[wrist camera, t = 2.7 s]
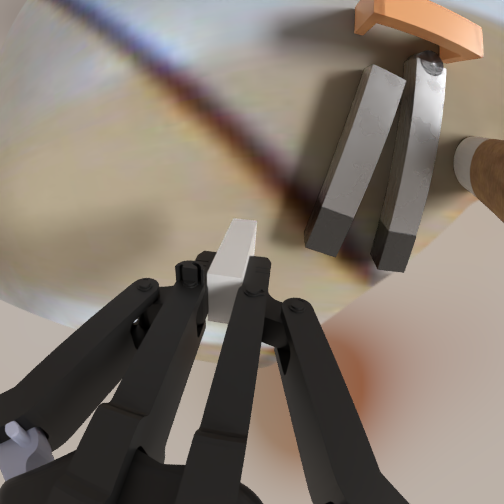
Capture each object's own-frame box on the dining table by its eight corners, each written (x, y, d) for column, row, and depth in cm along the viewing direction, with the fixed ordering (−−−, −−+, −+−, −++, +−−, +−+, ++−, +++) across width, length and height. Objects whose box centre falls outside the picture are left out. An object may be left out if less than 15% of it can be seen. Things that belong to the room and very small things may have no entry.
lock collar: (355, 7, 16) (373, -19, 10) (446, 38, 15) (481, 27, 10) (354, 33, 18) (374, 12, 12) (446, 63, 17) (483, 57, 11)
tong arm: (364, 68, 19) (373, 63, 16) (393, 82, 19) (406, 80, 17) (303, 232, 27) (305, 247, 25) (331, 242, 28) (335, 257, 25)
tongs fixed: (404, 50, 18) (417, 45, 15) (431, 60, 17) (447, 57, 15) (370, 253, 28) (377, 269, 25) (394, 257, 28) (403, 272, 25)
